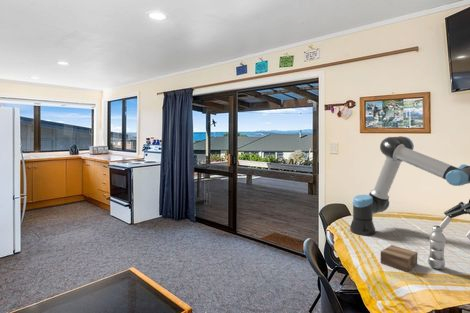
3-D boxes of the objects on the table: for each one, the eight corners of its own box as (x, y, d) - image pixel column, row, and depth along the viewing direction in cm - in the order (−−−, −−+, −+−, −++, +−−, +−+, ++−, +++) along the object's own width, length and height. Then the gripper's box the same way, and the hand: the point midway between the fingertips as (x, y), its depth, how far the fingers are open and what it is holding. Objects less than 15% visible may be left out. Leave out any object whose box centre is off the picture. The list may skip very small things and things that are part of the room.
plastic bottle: (437, 264, 134) (438, 224, 132) (448, 270, 127) (450, 228, 125) (424, 264, 133) (425, 224, 132) (435, 271, 127) (436, 229, 125)
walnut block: (391, 256, 143) (391, 245, 143) (417, 264, 134) (417, 252, 133) (380, 263, 136) (380, 251, 136) (407, 272, 127) (407, 259, 126)
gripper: (517, 211, 118) (486, 247, 117) (462, 198, 143) (436, 228, 142) (507, 199, 117) (475, 236, 116) (453, 188, 142) (427, 219, 141)
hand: (453, 232), depth 129 cm, fingers open, 13 cm apart
